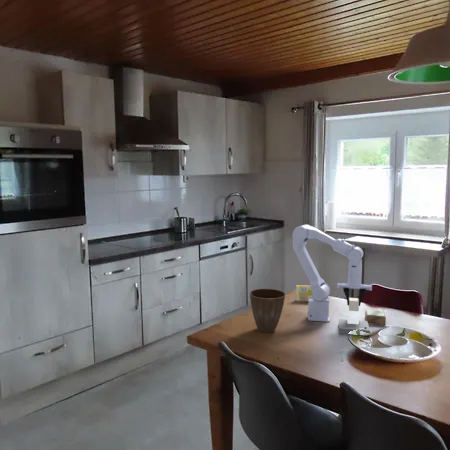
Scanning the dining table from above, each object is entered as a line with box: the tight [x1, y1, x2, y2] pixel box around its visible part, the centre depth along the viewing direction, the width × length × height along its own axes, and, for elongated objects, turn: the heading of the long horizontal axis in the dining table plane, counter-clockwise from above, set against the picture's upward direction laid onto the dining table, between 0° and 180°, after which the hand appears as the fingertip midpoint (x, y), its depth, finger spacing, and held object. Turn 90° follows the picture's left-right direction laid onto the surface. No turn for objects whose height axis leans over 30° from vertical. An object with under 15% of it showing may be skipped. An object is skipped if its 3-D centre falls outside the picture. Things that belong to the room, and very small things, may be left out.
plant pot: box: [249, 288, 286, 334], centre depth 190 cm, size 15×15×16 cm
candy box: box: [295, 284, 313, 302], centre depth 233 cm, size 16×2×8 cm, turn 84°
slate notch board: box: [338, 318, 371, 336], centre depth 191 cm, size 12×12×2 cm
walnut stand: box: [364, 309, 387, 326], centre depth 202 cm, size 8×8×4 cm
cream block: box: [348, 297, 360, 312], centre depth 198 cm, size 4×4×4 cm
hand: (353, 305), depth 198 cm, fingers closed on cream block, 4 cm apart
